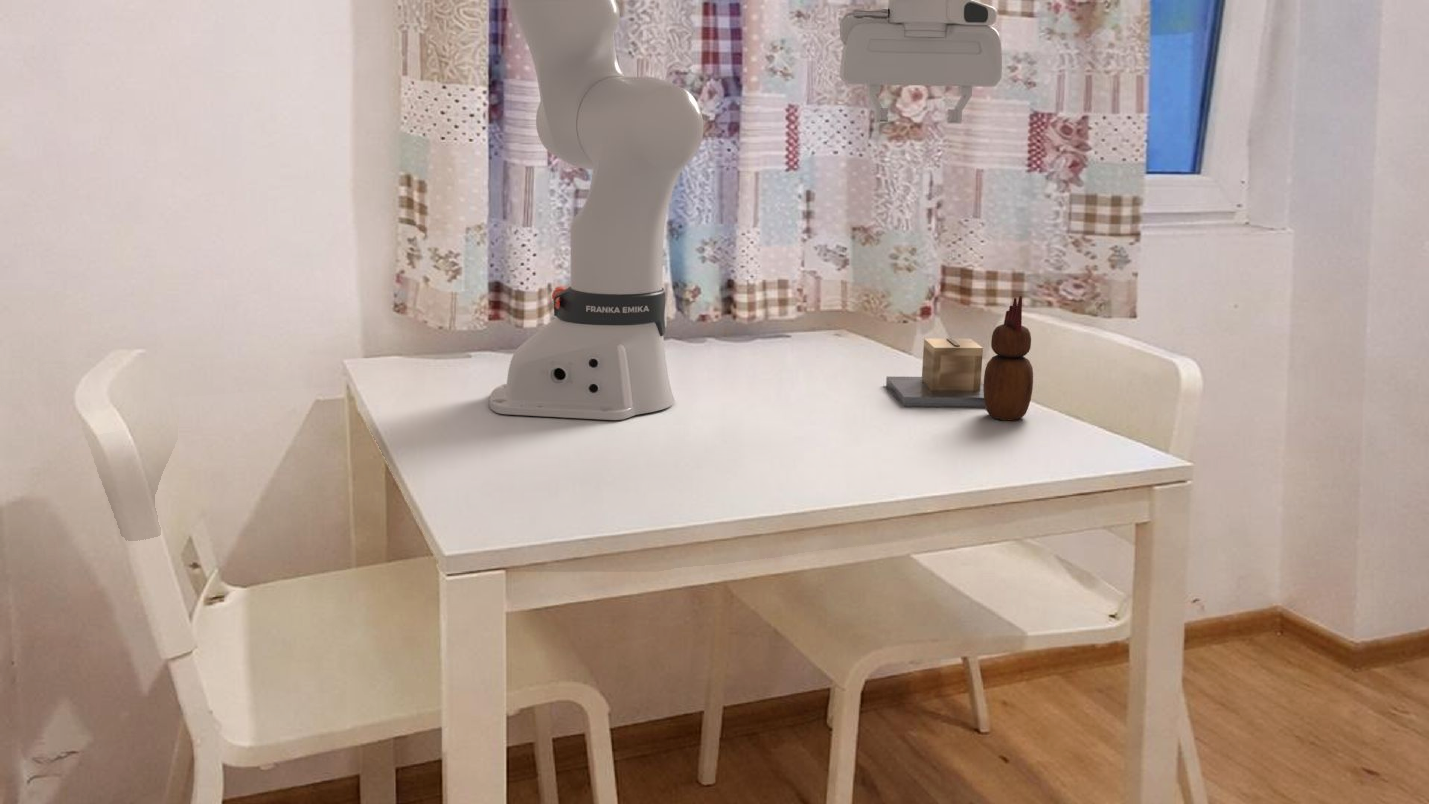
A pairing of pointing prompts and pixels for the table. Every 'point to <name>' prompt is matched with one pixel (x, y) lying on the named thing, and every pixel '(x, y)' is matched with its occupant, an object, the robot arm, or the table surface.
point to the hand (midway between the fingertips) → (917, 122)
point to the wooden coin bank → (952, 364)
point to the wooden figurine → (1009, 368)
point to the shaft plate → (932, 394)
